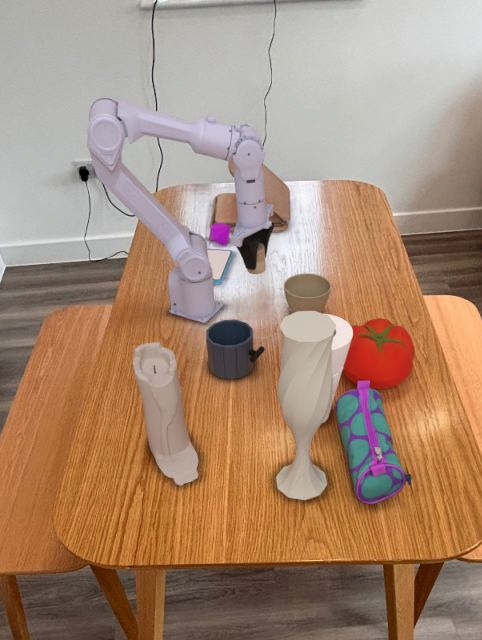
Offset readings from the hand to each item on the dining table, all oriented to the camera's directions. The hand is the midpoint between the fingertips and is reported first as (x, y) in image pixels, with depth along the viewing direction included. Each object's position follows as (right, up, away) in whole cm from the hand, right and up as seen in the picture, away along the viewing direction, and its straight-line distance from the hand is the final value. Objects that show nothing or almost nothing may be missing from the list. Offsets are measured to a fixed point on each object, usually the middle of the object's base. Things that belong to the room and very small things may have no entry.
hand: (255, 263), depth 135 cm
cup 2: (+11, -35, -17) cm, 40 cm away
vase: (+8, -47, -27) cm, 55 cm away
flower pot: (+11, -10, +5) cm, 15 cm away
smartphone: (-10, +6, +19) cm, 22 cm away
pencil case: (+19, -44, -25) cm, 54 cm away
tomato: (+23, -26, -10) cm, 36 cm away
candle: (-14, -43, -23) cm, 51 cm away
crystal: (-9, +16, +27) cm, 33 cm away
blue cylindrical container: (-4, -23, -7) cm, 25 cm away
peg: (0, -1, +1) cm, 1 cm away
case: (-1, +27, +36) cm, 45 cm away
